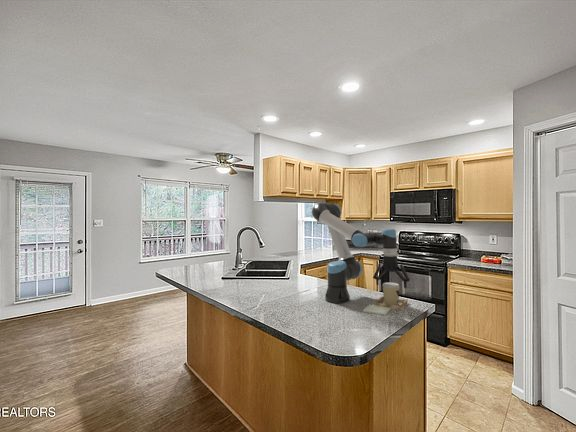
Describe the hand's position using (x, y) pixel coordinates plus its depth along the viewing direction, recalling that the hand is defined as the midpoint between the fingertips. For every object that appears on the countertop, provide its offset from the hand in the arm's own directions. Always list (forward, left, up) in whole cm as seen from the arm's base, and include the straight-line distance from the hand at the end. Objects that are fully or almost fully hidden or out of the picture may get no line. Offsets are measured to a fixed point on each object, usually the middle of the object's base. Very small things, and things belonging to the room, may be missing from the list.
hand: (391, 292), depth 168 cm
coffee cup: (0, 0, -8) cm, 8 cm away
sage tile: (-4, -14, -7) cm, 16 cm away
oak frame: (0, 0, -7) cm, 7 cm away
